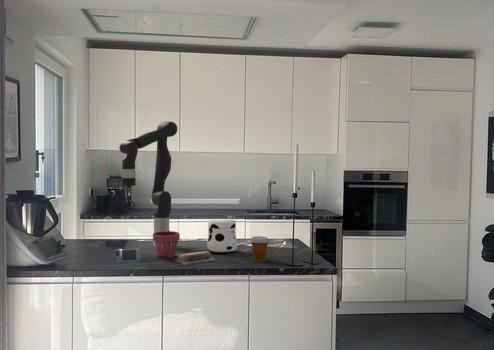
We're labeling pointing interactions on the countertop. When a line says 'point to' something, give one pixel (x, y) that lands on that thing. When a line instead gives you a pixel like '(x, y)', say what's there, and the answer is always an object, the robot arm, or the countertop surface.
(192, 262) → the packaged product
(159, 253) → the plant pot
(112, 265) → the countertop surface
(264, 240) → the disposable coffee cup
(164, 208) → the robot arm
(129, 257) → the charcoal rectangular prism
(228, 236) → the milk container
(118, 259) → the white pegged board
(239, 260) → the countertop surface
